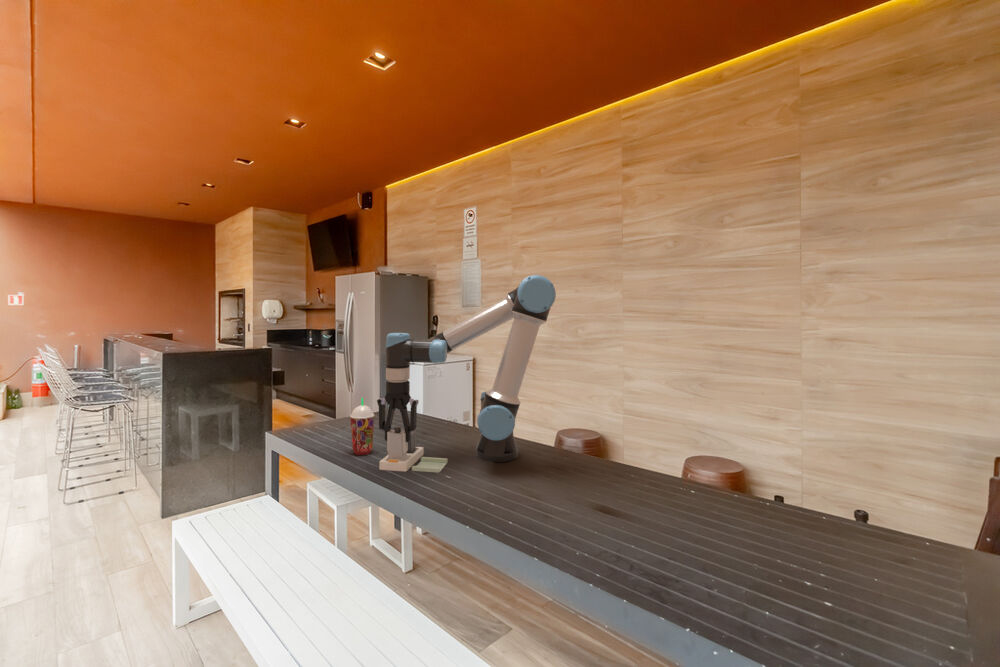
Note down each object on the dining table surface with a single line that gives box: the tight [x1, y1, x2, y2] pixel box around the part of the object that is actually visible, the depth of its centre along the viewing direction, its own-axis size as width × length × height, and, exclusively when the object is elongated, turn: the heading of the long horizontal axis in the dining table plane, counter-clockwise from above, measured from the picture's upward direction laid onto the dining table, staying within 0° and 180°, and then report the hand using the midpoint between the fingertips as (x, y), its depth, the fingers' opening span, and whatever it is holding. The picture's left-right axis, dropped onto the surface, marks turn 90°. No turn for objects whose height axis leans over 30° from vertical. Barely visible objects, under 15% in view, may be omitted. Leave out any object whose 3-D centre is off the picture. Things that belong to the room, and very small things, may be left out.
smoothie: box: [349, 397, 375, 456], centre depth 160 cm, size 8×8×20 cm
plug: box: [387, 426, 407, 459], centre depth 146 cm, size 4×4×10 cm
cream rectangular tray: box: [378, 429, 425, 472], centre depth 151 cm, size 9×17×10 cm, turn 171°
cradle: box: [411, 456, 449, 473], centre depth 147 cm, size 9×10×2 cm
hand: (397, 450), depth 146 cm, fingers closed on plug, 4 cm apart
